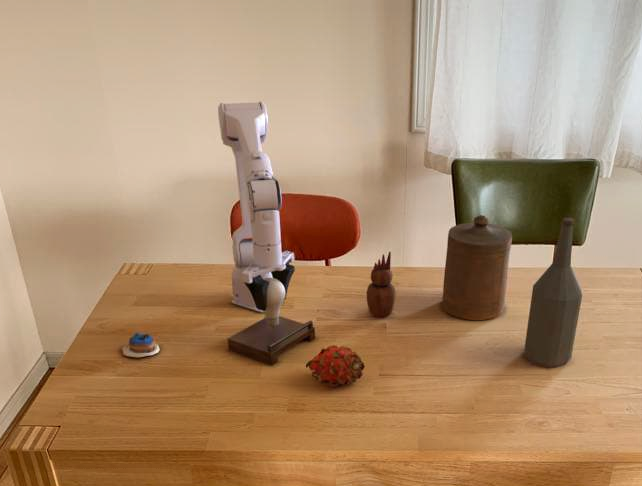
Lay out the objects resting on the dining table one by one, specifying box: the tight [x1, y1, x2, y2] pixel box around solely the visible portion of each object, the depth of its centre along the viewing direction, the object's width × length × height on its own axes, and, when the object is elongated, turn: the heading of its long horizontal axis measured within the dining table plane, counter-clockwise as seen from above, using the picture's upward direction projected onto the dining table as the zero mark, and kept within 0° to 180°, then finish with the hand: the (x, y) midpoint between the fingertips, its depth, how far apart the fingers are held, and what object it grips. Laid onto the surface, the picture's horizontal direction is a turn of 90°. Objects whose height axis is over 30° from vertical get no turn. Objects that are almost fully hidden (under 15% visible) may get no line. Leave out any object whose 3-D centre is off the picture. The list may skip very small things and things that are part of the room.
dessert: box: [121, 332, 160, 358], centre depth 169 cm, size 8×7×6 cm
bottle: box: [524, 217, 583, 368], centre depth 162 cm, size 10×10×30 cm
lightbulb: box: [263, 278, 285, 328], centre depth 168 cm, size 6×6×11 cm
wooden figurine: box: [366, 251, 397, 318], centre depth 182 cm, size 7×6×15 cm
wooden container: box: [441, 214, 513, 321], centre depth 184 cm, size 15×15×22 cm
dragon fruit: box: [305, 345, 365, 388], centre depth 159 cm, size 8×8×12 cm
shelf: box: [227, 315, 316, 366], centre depth 172 cm, size 12×15×4 cm
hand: (271, 303), depth 168 cm, fingers closed on lightbulb, 6 cm apart
